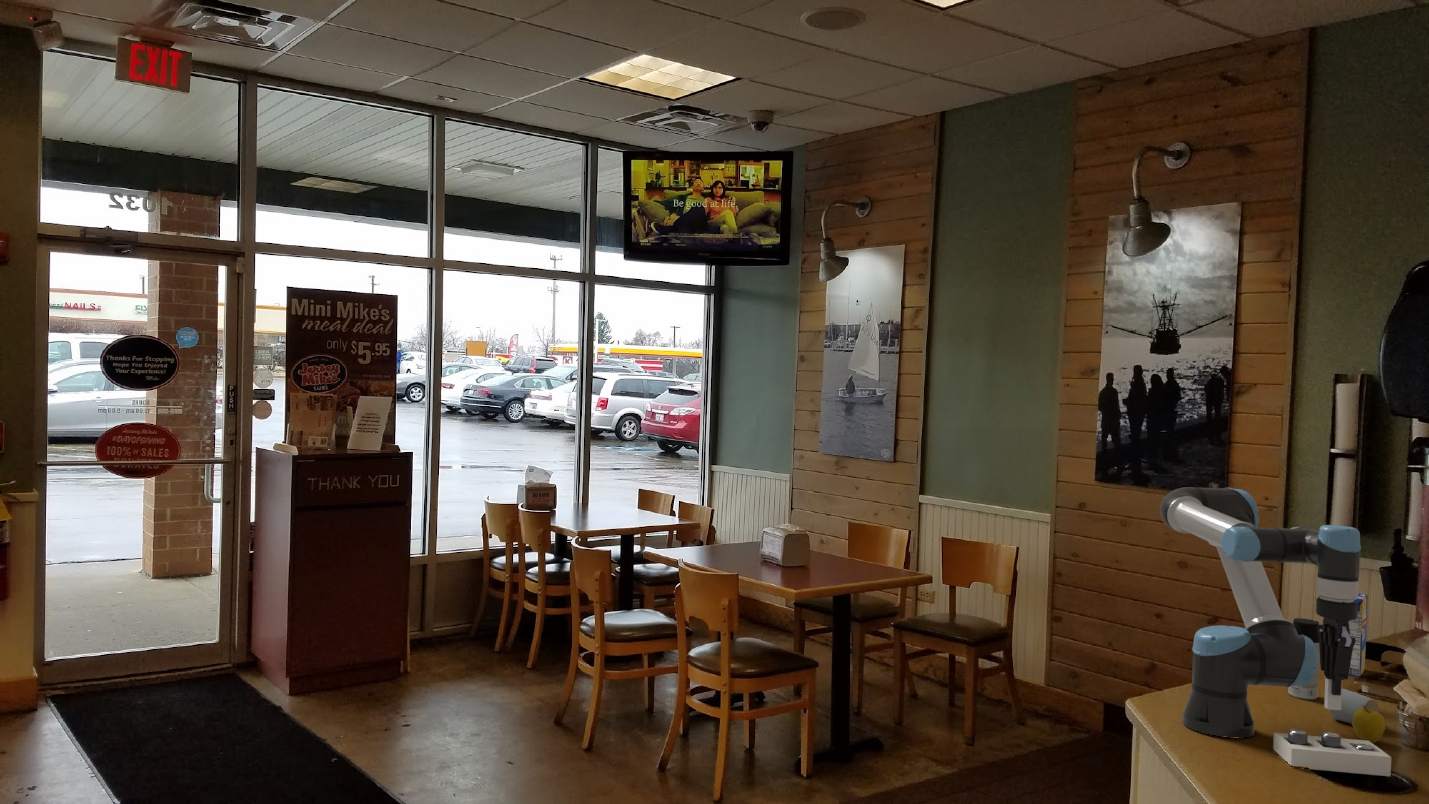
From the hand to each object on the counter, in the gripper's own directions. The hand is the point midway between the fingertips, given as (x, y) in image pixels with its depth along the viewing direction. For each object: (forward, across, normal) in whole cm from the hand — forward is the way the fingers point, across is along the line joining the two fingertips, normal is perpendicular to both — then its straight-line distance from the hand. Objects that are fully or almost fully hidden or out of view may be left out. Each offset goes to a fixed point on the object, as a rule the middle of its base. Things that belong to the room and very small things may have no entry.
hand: (1332, 708), depth 212 cm
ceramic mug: (+12, +32, -18) cm, 39 cm away
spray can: (+12, +52, -14) cm, 55 cm away
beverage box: (+12, +84, -38) cm, 93 cm away
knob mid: (+10, 0, 0) cm, 10 cm away
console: (+12, 0, 0) cm, 12 cm away
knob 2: (+12, 0, -6) cm, 13 cm away
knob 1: (+10, 0, +7) cm, 12 cm away
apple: (+12, +18, -15) cm, 26 cm away
